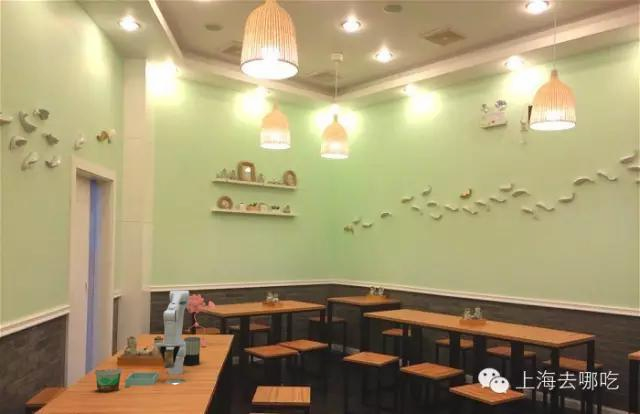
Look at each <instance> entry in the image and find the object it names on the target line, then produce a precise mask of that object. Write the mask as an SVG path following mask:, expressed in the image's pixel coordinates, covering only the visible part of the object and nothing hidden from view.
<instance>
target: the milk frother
mask: <svg viewBox="0 0 640 414" xmlns="http://www.w3.org/2000/svg"><path fill="white" fill-rule="evenodd" d="M201 339H202V337H199V336H198V337H197V336H187V337H184V339H183V340H184V341H185V342H186V355H185V357H183V364H184V365H183V366H186V365H189V366H188V367H192V366H191V365H196V366H199V365H200V364H201V363H200V360H201V359H200V358H201V357H200V354H201V353H200V352H201ZM199 363H200V364H199ZM198 364H199V365H198Z"/></svg>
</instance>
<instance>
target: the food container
mask: <svg viewBox="0 0 640 414" xmlns="http://www.w3.org/2000/svg"><path fill="white" fill-rule="evenodd" d="M122 373H123V369H122V367H120V368H118V369H113V368H109V369H103V370H102V369H100V370H99V369H95V370H94V375H95V377H96V389H97V390H96V391H97V392H99V393H113V392H117V391H118V390H119V389H120V381H121V375H122Z"/></svg>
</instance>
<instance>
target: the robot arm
mask: <svg viewBox="0 0 640 414" xmlns="http://www.w3.org/2000/svg"><path fill="white" fill-rule="evenodd" d="M189 296H190V291H189V290H172V289H171V290H170V291H169V301H170V302H169V303H168V306H167V309H165V310H164V311H163V315H162V316H163V326H164V334H163V342H155V343H154V348H159V352H160V354H161V357H162V360H163V362H164V359H165V351H166V350H174V358H173V363H174V364H175V366H174V368H168V371H167V373H168V375H171V376H177V375H182V374H183V373H185V371H184V365H183V363H184V357H185V355H186V342H185V341H184V340H185V339H183V338H182V337H183V328H184V327H183V325H184V315H185V310H186V309H187V308H186V307H188V305H189Z"/></svg>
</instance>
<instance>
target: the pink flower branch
mask: <svg viewBox="0 0 640 414" xmlns="http://www.w3.org/2000/svg"><path fill="white" fill-rule="evenodd" d="M204 300H205V299H204V298H203V297H202V295H201V294H199V293H198V294H192V295H189V305H188V307H186V308H185V309H187V311H188V312H189V314H192V313H195V314H194V316H193V317H194V320H195V323H194V324H193V325H192V326H189V327H188V331H190V329H191V328H192V327H195V328H198V327H200V328H203V329H204V330H203V333H205V332H206V331H205V330H206V328H205V327H203V326H201V325H199V324H200V323H199V322H197V319H196V315H197V314H199V313H200V312H203V313H207V312H208V309H209V308H210V309H211V310H213V311H215V310H216V304H215V303H214V302H213V301H211V300H209V302H208V303H207V307H206V310H204V307H205V306H206V302H204ZM200 345H201V346H202V347H203V346H205V347H206V345H207V339H206V338H205V334H203V336H202V337H201V339H200Z"/></svg>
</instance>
